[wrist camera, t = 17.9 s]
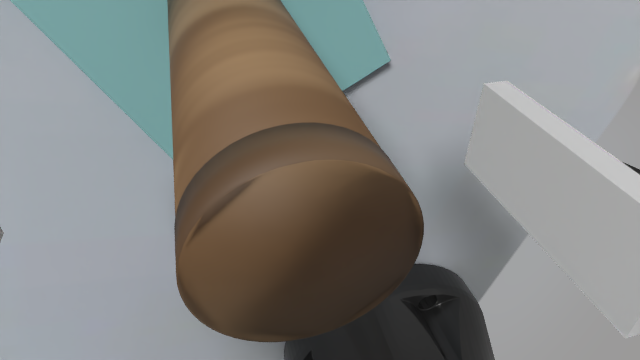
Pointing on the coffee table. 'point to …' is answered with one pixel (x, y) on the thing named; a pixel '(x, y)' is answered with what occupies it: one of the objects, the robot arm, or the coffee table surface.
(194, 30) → the key peg
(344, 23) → the key mat
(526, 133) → the robot arm
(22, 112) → the coffee table surface
